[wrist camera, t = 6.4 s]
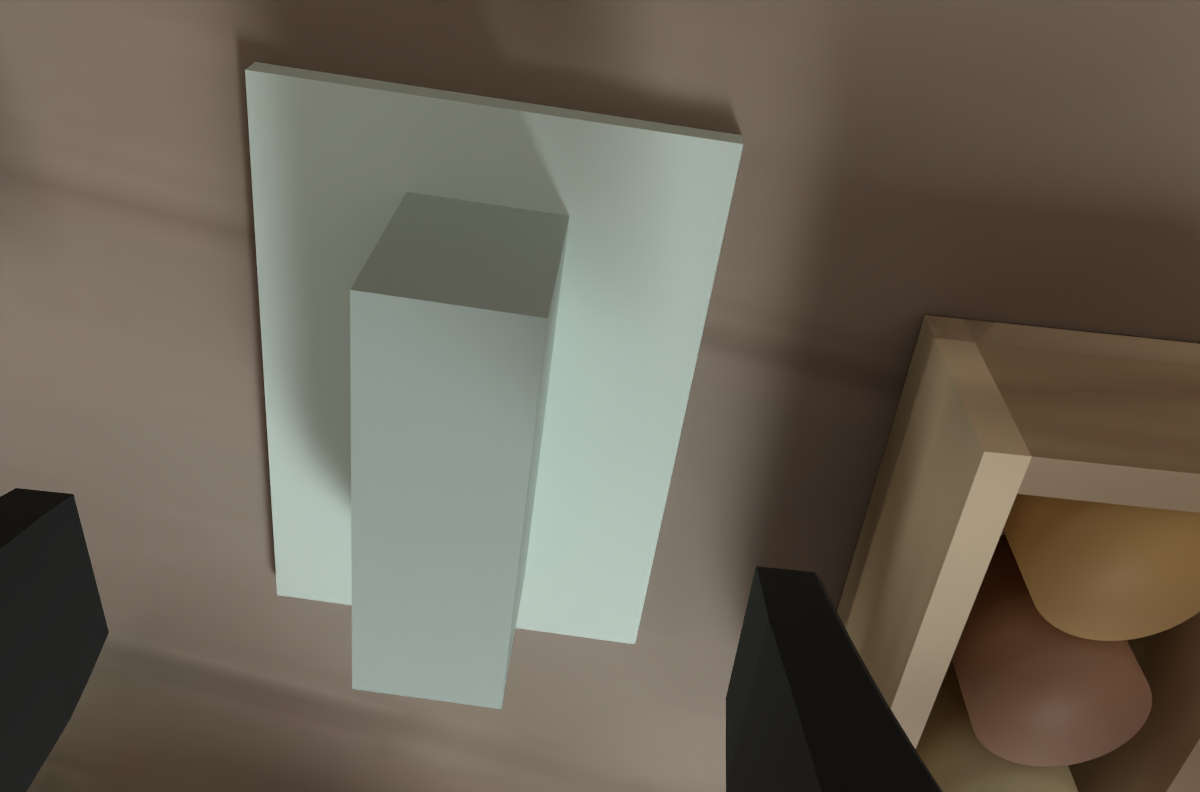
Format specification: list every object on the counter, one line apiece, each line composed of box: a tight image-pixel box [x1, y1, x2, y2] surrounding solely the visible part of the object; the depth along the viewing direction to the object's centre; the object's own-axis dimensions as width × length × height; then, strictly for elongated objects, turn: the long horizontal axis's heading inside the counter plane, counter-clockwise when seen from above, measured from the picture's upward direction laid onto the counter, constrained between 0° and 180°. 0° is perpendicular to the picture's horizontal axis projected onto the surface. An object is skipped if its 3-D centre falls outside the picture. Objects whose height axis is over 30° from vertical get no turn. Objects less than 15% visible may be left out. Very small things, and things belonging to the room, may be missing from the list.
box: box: [837, 315, 1200, 792], centre depth 14 cm, size 8×4×3 cm, turn 175°
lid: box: [245, 62, 743, 709], centre depth 13 cm, size 8×6×3 cm
